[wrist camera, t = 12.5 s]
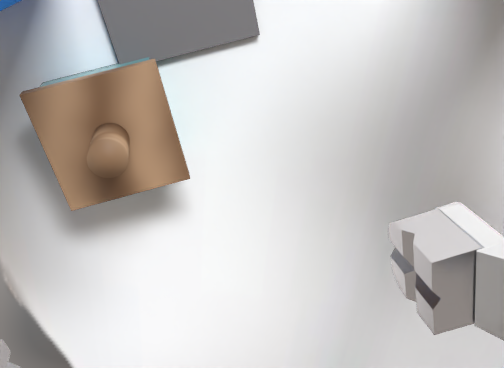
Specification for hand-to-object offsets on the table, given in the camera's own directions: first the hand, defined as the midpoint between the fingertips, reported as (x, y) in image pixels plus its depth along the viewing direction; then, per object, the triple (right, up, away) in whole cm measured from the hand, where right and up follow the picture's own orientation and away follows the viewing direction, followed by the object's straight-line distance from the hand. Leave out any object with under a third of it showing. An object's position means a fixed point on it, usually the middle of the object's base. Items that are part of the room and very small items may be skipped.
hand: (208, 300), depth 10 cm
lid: (-10, +6, +28) cm, 31 cm away
